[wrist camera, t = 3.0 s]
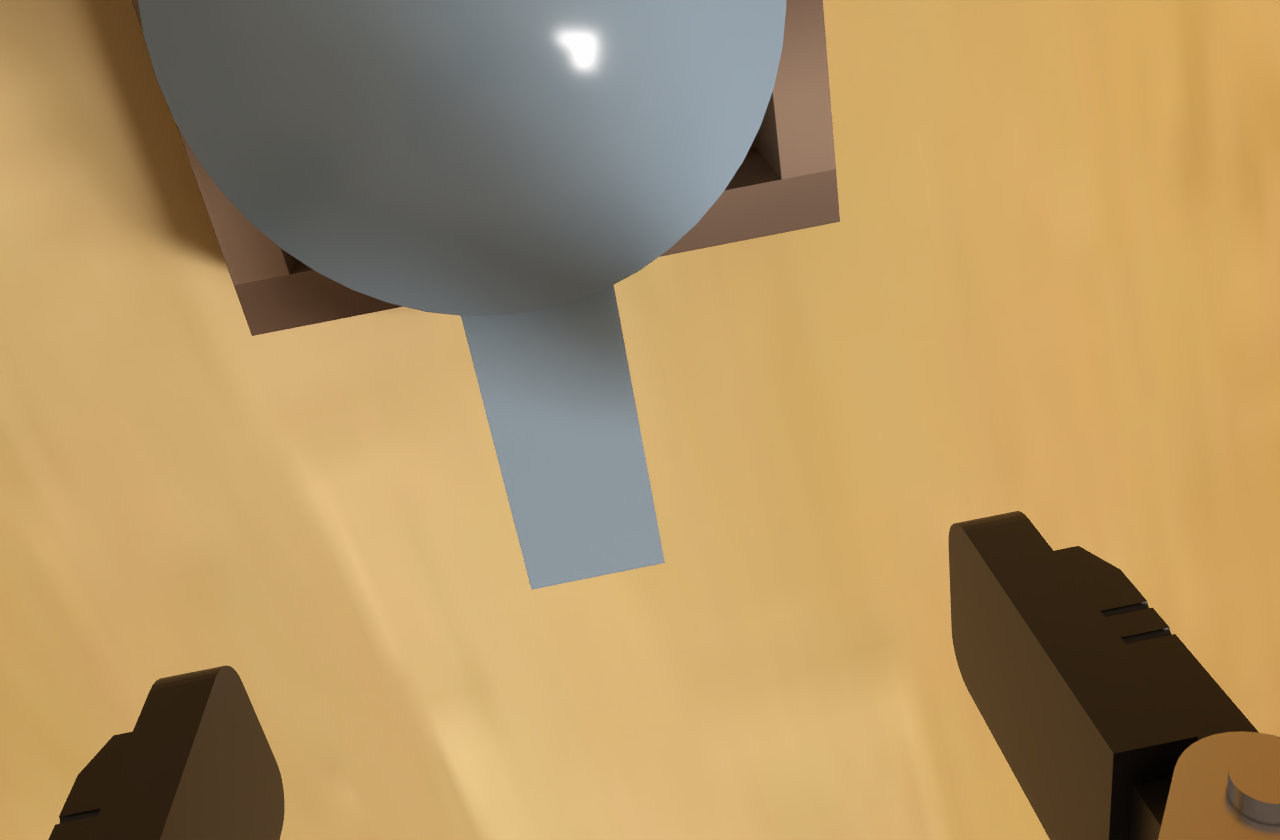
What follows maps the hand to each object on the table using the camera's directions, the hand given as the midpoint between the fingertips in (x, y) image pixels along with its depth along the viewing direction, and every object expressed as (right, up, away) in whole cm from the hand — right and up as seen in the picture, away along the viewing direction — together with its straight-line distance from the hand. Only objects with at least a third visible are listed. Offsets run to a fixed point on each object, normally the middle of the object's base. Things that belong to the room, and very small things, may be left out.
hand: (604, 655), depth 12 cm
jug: (-2, +10, +8) cm, 13 cm away
